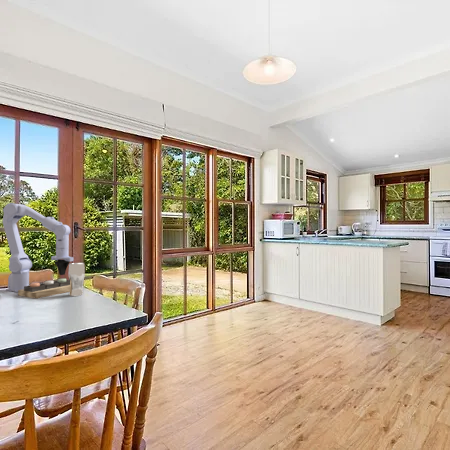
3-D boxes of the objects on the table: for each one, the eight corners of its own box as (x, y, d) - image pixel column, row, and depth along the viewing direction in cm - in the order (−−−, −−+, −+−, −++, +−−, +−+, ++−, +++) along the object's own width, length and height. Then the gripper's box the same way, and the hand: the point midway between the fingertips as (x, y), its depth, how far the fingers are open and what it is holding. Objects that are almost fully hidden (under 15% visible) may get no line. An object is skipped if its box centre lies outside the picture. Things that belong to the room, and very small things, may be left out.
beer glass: (80, 296, 144) (80, 264, 144) (65, 296, 144) (65, 264, 144) (87, 293, 150) (87, 262, 151) (72, 293, 151) (73, 262, 151)
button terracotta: (27, 287, 144) (27, 283, 144) (36, 286, 148) (36, 282, 148) (33, 288, 143) (33, 284, 143) (41, 287, 146) (41, 283, 146)
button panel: (18, 295, 145) (18, 285, 145) (59, 287, 164) (59, 279, 164) (36, 298, 139) (36, 288, 139) (77, 290, 158) (77, 281, 158)
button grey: (42, 285, 151) (42, 281, 151) (50, 283, 154) (50, 280, 154) (47, 285, 149) (47, 282, 149) (55, 284, 152) (55, 281, 152)
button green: (55, 282, 157) (55, 279, 157) (62, 281, 160) (63, 278, 160) (61, 283, 155) (61, 280, 155) (68, 282, 159) (68, 278, 159)
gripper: (78, 248, 158) (78, 274, 158) (60, 247, 165) (60, 272, 165) (66, 249, 152) (66, 276, 152) (47, 248, 158) (47, 274, 158)
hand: (62, 274), depth 158 cm, fingers closed
